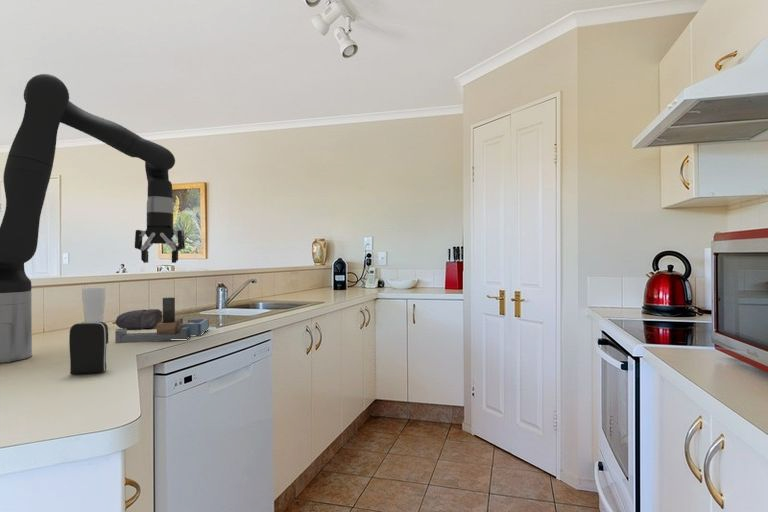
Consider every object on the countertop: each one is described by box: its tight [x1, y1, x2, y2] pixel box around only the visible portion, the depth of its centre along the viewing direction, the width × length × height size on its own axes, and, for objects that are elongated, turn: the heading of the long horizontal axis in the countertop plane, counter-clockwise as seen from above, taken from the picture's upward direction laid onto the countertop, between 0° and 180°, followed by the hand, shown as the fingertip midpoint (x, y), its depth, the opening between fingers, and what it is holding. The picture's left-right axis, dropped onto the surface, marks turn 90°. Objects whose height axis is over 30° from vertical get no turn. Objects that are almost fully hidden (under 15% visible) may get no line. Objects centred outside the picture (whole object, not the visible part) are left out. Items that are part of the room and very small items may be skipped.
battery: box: [68, 321, 109, 375], centre depth 96 cm, size 7×4×11 cm, turn 102°
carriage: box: [156, 297, 184, 334], centre depth 137 cm, size 16×5×13 cm, turn 9°
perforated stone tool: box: [115, 308, 163, 330], centre depth 153 cm, size 15×5×7 cm, turn 98°
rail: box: [114, 327, 191, 344], centre depth 132 cm, size 4×20×4 cm, turn 99°
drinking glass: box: [81, 286, 106, 322], centre depth 151 cm, size 7×7×15 cm
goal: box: [179, 318, 210, 336], centre depth 143 cm, size 11×7×4 cm, turn 9°
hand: (160, 262), depth 136 cm, fingers open, 8 cm apart
